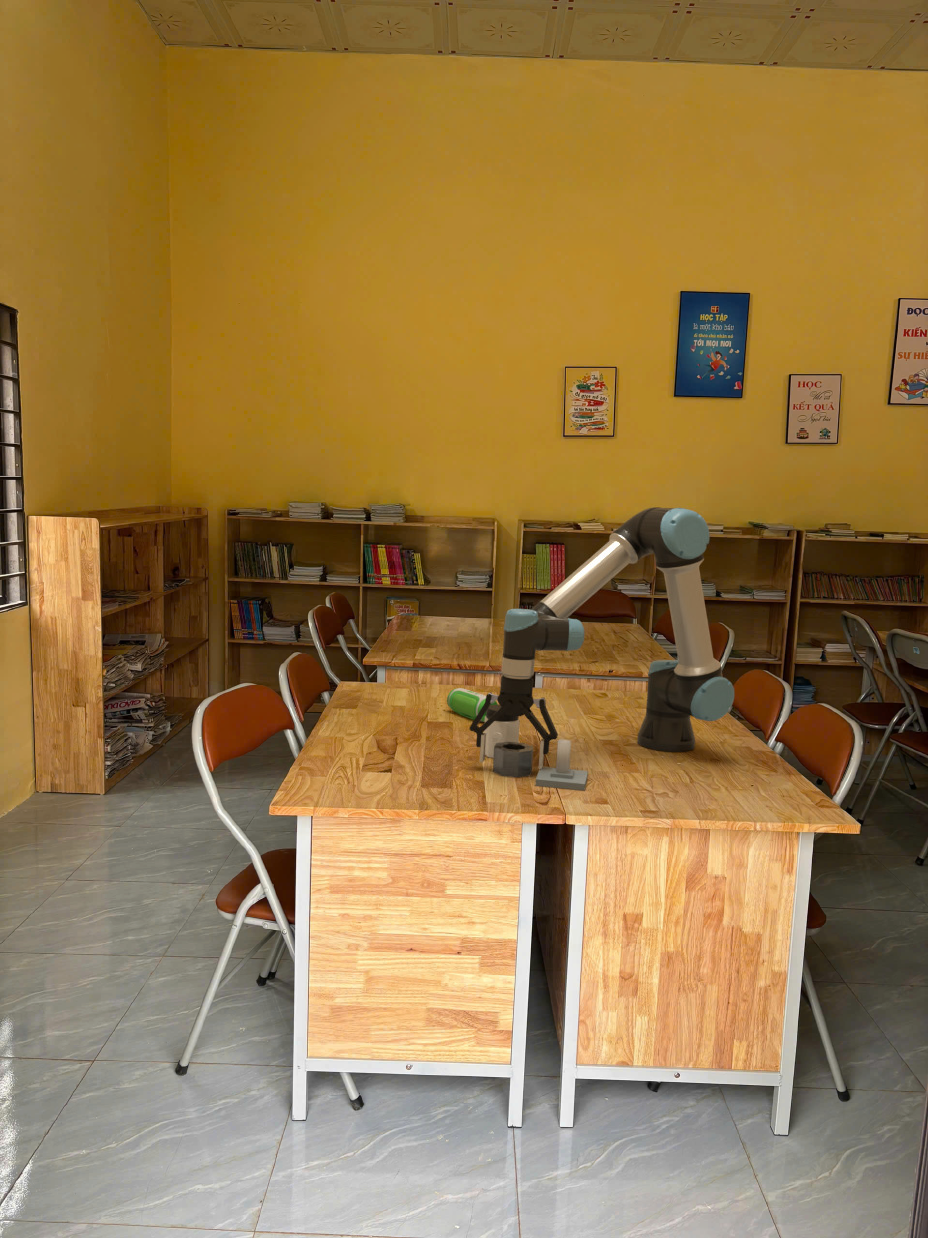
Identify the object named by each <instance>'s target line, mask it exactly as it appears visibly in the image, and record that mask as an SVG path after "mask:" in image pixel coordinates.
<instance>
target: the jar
mask: <svg viewBox="0 0 928 1238" xmlns="http://www.w3.org/2000/svg"><path fill="white" fill-rule="evenodd" d="M500 708H501V706H500V704H498V705H490V706H489V708H488V709H487V711H486V716H485V722H486V721H487V720H488V719H489V718H490V717H491V716H492V715H493V714H494V713H496V712H497V711H498V710H499V709H500ZM519 718H520V716H516V715H508V714H506V713H505V712H504V713H503V714H502V715H501V716H499V717H498V718H497V719H496V720H495V721H494V722H493V723H492V724H491V725H490V726H489V727H488V728H487V729H486V730H485V731H484V732H483V733H486V747H485V757H487V758H489V759H493V758H494V746H495V745H496V743H502V742H518V743H520V739H519V738H520V724H521V723H520V722H521V721H520V719H519ZM485 722H484V723H485Z"/></svg>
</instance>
